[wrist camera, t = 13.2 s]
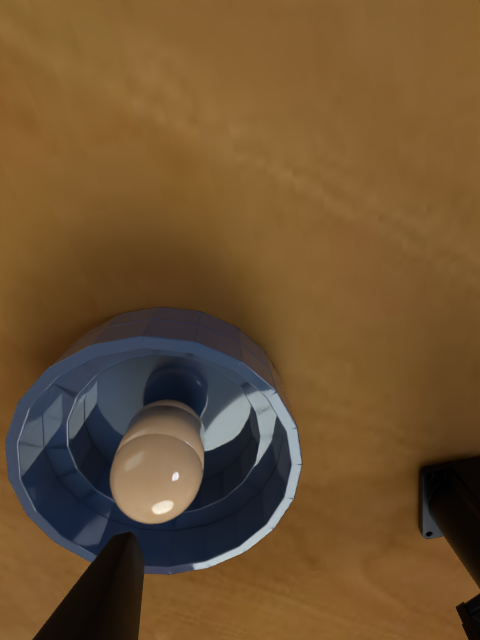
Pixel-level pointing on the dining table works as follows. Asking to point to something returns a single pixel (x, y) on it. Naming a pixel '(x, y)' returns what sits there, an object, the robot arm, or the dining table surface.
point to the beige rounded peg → (159, 462)
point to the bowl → (117, 411)
